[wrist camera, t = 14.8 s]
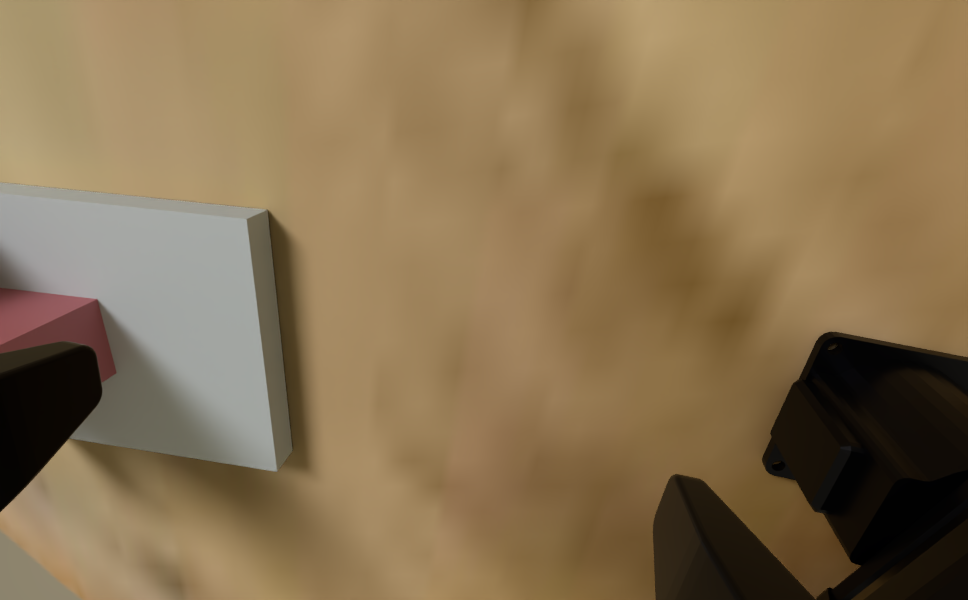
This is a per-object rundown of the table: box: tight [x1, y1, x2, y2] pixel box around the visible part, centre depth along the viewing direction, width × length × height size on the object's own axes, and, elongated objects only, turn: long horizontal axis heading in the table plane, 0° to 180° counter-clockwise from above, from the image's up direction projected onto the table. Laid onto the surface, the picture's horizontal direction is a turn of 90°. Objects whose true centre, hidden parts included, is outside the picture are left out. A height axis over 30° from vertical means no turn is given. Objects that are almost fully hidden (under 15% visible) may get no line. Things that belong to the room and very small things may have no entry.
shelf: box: [0, 182, 293, 472], centre depth 21 cm, size 14×12×8 cm
